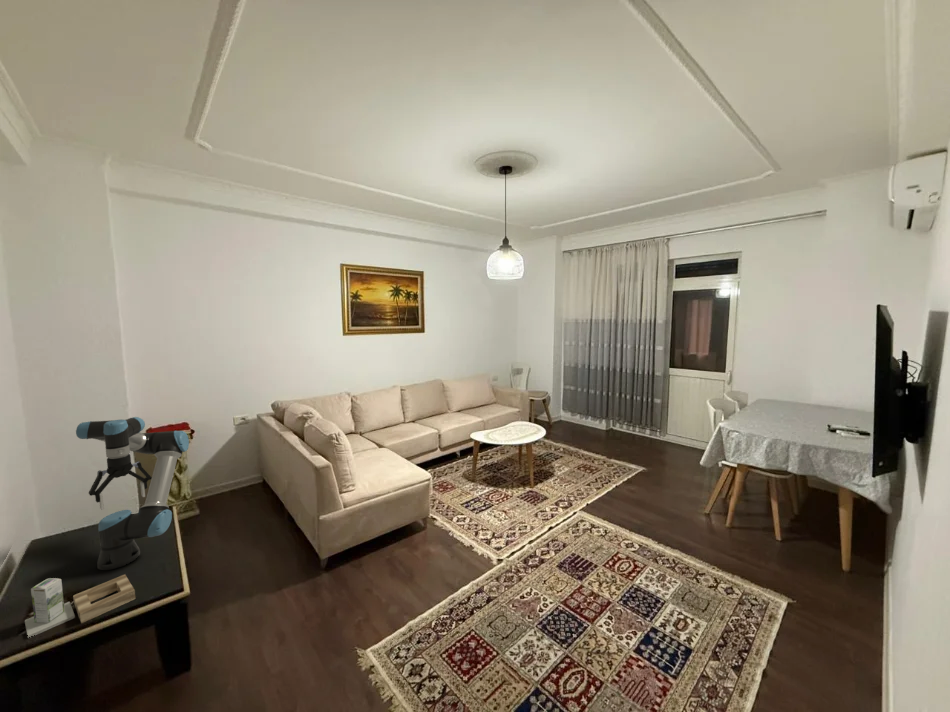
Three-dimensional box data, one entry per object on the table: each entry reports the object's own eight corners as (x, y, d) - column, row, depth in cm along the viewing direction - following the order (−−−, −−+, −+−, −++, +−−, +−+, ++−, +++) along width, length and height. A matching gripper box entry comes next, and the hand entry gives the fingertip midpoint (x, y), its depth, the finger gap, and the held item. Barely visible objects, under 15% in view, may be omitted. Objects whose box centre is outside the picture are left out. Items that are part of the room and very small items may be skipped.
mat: (24, 622, 146) (24, 620, 146) (69, 603, 156) (69, 601, 156) (28, 638, 139) (27, 636, 139) (74, 617, 149) (74, 615, 149)
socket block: (74, 604, 156) (73, 595, 155) (125, 582, 168) (125, 574, 168) (81, 623, 146) (80, 614, 146) (135, 598, 159) (134, 590, 158)
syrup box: (51, 611, 151) (46, 577, 149) (65, 611, 151) (61, 578, 149) (34, 623, 145) (29, 588, 143) (49, 623, 145) (44, 588, 143)
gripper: (79, 467, 152) (84, 516, 154) (157, 449, 172) (161, 493, 174) (75, 462, 156) (81, 511, 159) (152, 446, 176) (156, 489, 179)
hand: (123, 502), depth 166 cm, fingers open, 13 cm apart
